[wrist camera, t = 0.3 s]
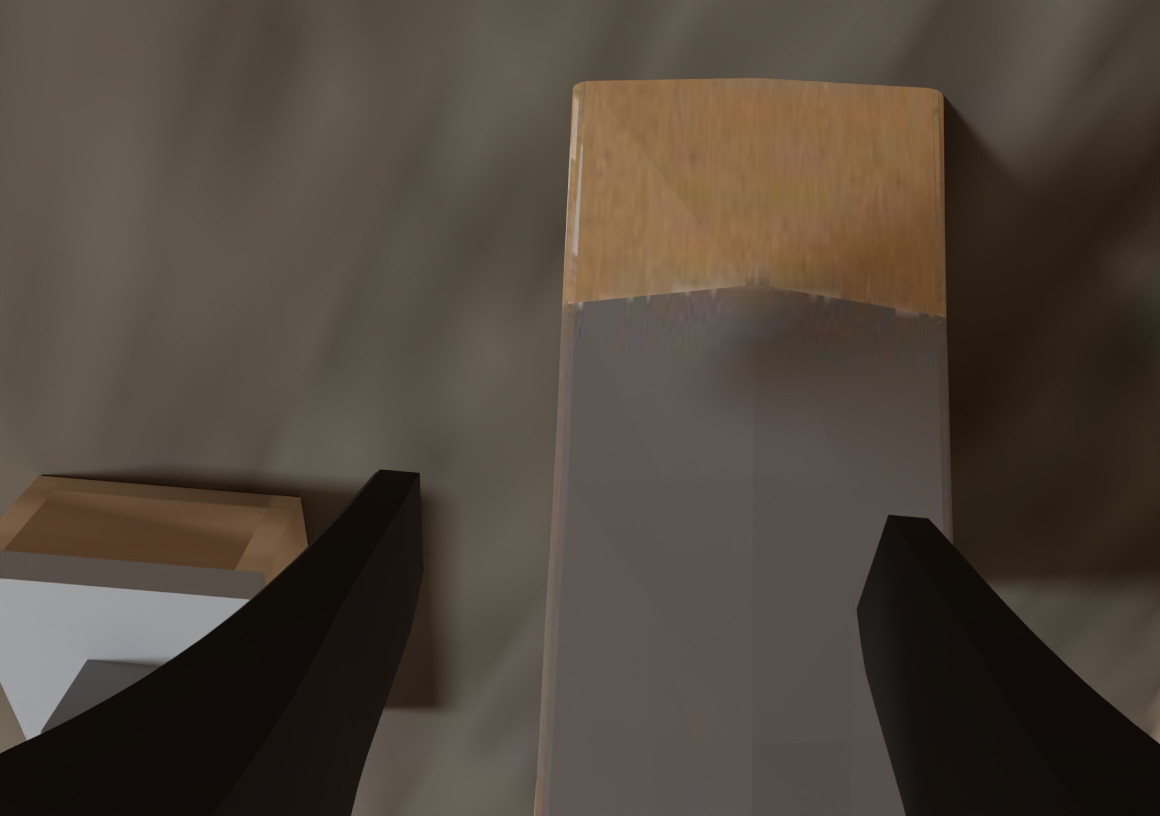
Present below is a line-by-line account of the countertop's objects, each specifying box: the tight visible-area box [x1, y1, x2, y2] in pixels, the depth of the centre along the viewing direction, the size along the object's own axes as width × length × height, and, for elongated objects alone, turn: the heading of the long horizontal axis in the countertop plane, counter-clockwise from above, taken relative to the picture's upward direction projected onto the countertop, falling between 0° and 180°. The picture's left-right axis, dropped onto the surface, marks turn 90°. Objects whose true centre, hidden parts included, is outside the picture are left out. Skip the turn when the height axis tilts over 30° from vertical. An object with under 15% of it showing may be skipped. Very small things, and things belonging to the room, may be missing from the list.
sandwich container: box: [534, 78, 953, 816], centre depth 18 cm, size 9×15×15 cm, turn 0°
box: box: [0, 476, 308, 585], centre depth 29 cm, size 10×8×3 cm
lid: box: [0, 550, 266, 740], centre depth 26 cm, size 10×8×3 cm
